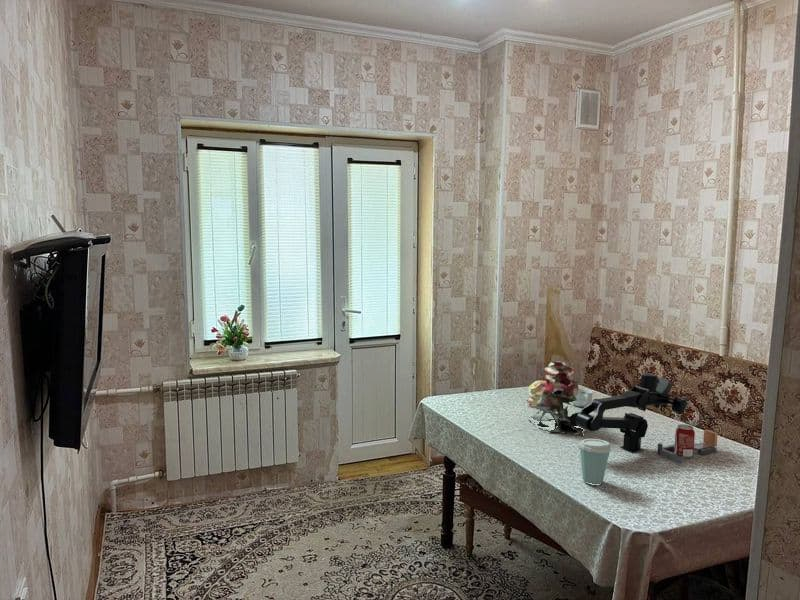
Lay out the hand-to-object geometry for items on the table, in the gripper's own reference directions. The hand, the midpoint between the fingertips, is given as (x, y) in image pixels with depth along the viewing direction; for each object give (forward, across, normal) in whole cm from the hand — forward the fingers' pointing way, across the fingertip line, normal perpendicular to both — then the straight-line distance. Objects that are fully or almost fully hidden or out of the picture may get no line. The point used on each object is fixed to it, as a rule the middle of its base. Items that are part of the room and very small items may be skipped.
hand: (679, 399), depth 243 cm
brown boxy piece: (+1, -15, +16) cm, 22 cm away
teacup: (-1, +52, +24) cm, 58 cm away
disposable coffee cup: (-59, -21, +23) cm, 67 cm away
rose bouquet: (-32, +34, +26) cm, 54 cm away
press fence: (-12, -16, +18) cm, 27 cm away
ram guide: (+1, -15, +16) cm, 22 cm away
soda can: (-10, -16, +18) cm, 26 cm away
